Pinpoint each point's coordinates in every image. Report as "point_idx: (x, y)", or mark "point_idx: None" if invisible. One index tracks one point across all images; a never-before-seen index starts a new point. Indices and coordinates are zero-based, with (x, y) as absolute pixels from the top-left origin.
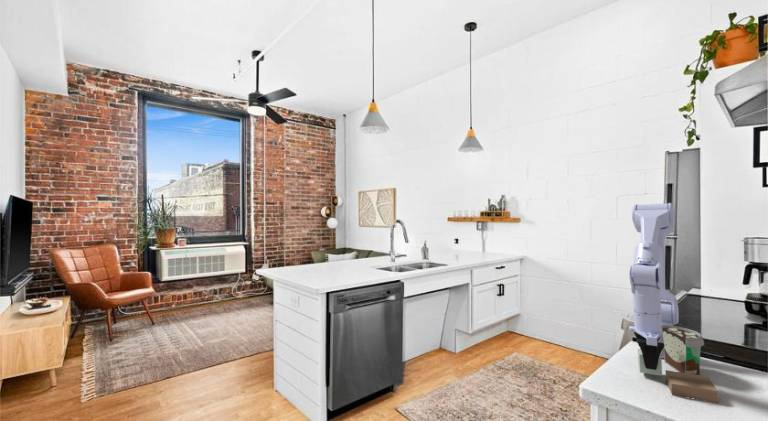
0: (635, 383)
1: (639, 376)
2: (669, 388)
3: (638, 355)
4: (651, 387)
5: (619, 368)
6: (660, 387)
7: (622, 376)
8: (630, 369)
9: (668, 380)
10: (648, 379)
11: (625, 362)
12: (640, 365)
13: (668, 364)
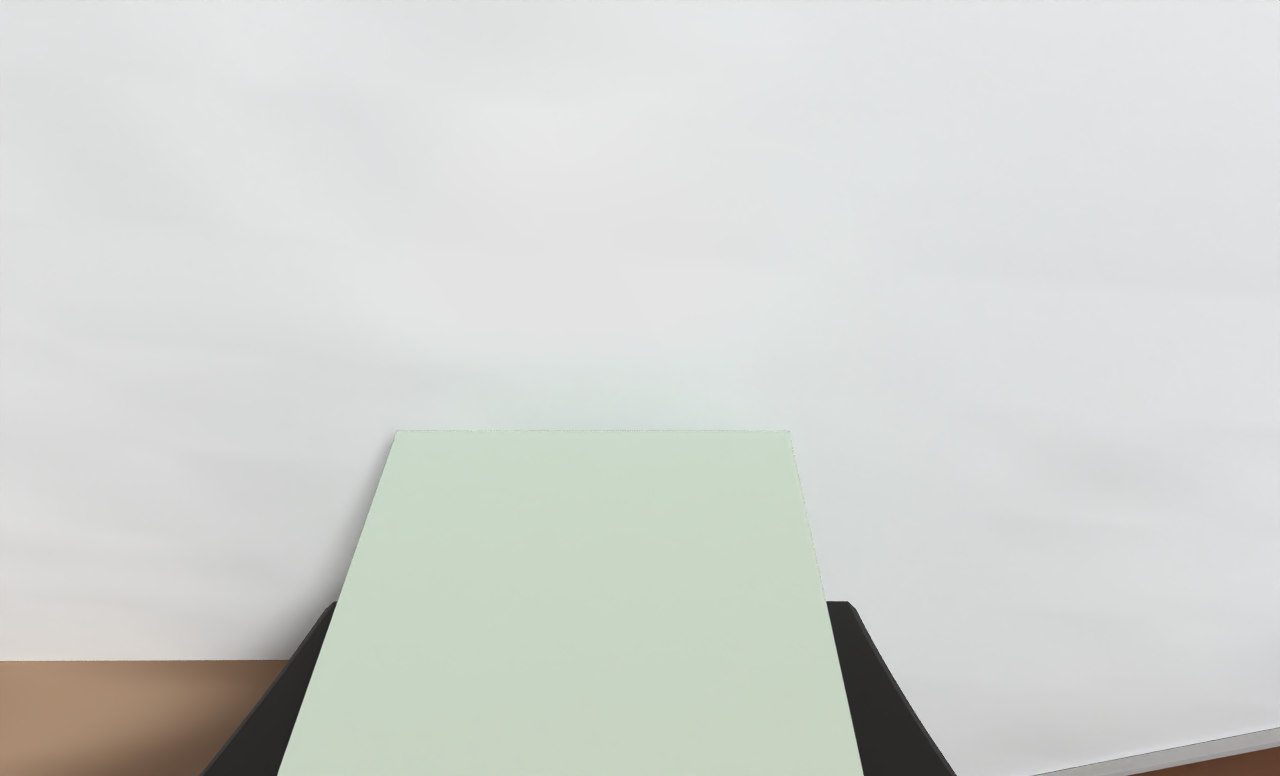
0: (5, 275)
1: (441, 365)
2: (159, 668)
3: (592, 667)
4: (28, 481)
5: (736, 21)
6: (135, 580)
7: (223, 58)
8: (768, 245)
9: (178, 752)
10: (378, 476)
11: (1203, 178)
12: (357, 546)
13: (1190, 752)
